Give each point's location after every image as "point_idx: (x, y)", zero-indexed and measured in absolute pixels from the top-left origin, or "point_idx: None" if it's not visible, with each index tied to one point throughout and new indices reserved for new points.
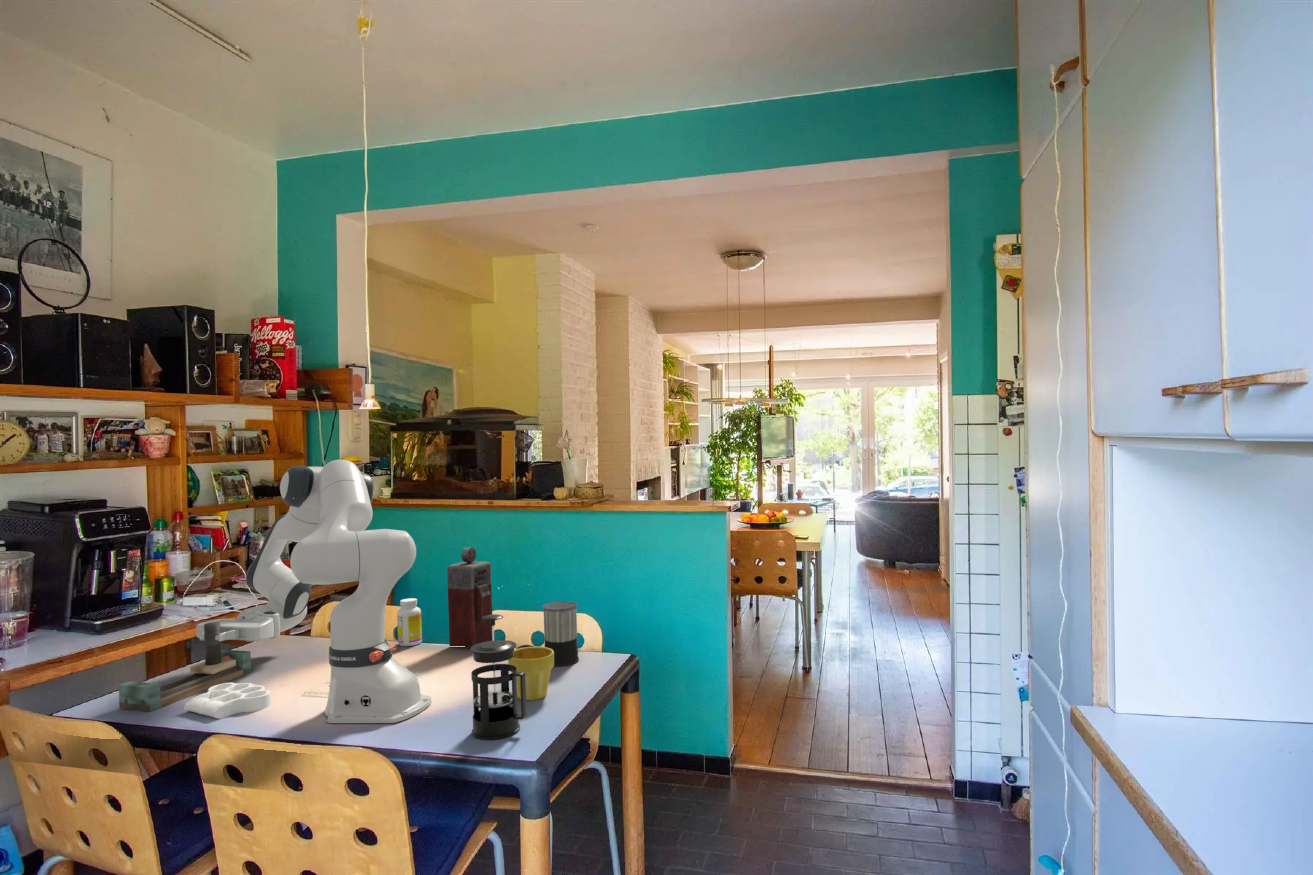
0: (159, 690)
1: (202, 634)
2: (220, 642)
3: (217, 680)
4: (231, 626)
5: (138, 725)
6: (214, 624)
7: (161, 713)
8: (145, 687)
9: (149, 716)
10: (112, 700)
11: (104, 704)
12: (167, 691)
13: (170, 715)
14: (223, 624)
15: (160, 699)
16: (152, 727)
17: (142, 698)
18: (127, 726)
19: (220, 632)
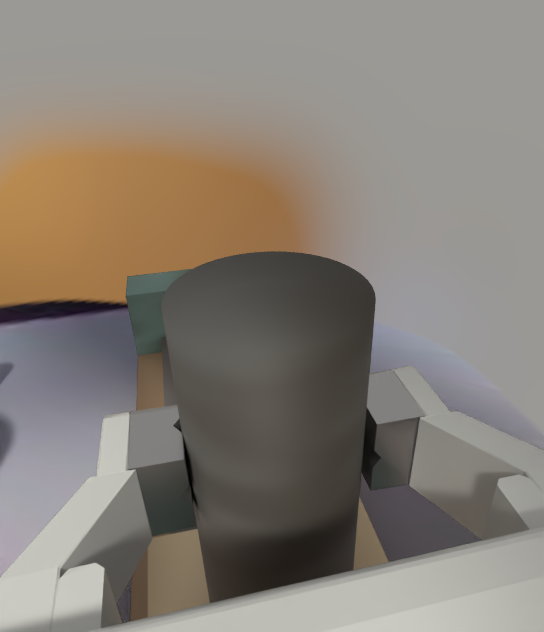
0: (130, 318)
1: (374, 374)
2: (209, 546)
3: (131, 614)
4: (175, 612)
5: (73, 312)
6: (179, 287)
7: (86, 359)
8: (148, 276)
9: (105, 340)
10: (411, 353)
11: (384, 334)
12: (166, 369)
13: (34, 361)
14: (539, 626)
15: (156, 361)
16: (14, 318)
17: None
18: (100, 303)
19: (213, 468)
